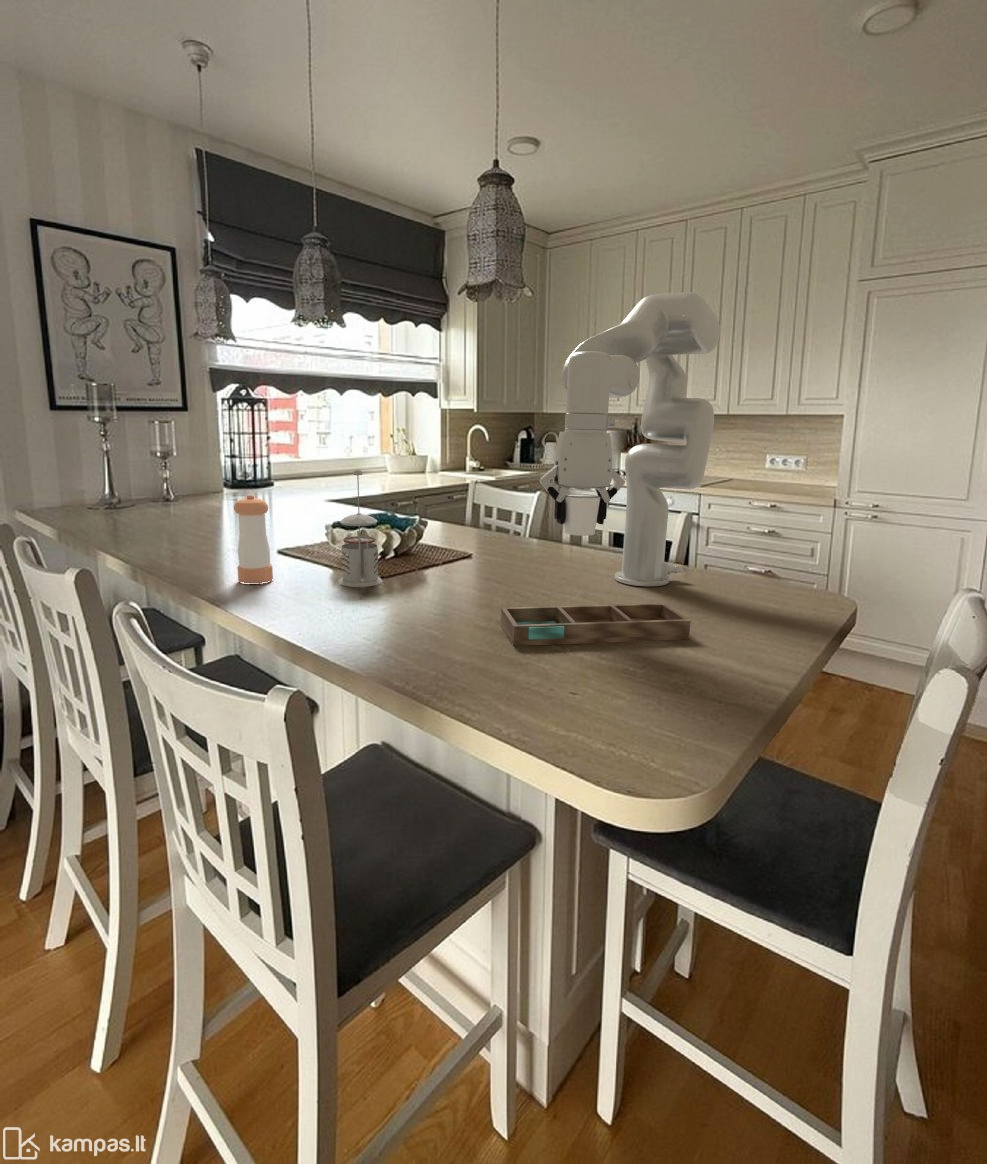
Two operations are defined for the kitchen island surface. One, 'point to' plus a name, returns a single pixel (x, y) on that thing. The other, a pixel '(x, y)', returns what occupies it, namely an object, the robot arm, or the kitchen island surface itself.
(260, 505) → the pepper shaker
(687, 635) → the rack
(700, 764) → the kitchen island surface
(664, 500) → the robot arm
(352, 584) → the french press
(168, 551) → the kitchen island surface
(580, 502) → the white cup
